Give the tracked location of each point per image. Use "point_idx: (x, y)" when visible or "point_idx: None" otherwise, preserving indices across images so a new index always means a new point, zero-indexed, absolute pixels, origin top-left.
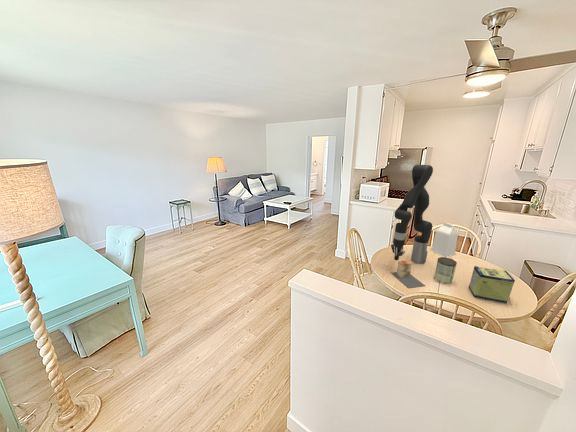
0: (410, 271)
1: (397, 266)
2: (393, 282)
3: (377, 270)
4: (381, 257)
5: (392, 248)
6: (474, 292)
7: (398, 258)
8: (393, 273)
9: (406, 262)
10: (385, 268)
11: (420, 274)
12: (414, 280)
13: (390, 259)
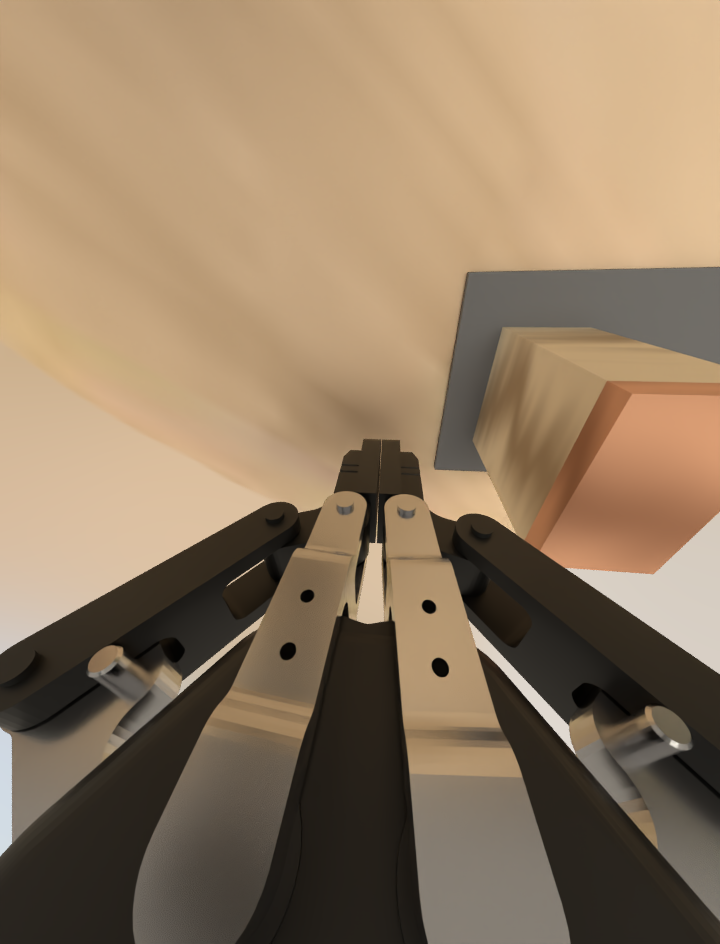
0: (644, 343)
1: (500, 497)
2: None
3: None
4: (118, 376)
5: (207, 645)
6: None
7: (419, 473)
8: (454, 458)
9: (678, 482)
10: None
11: (678, 19)
12: (692, 333)
13: (143, 288)
